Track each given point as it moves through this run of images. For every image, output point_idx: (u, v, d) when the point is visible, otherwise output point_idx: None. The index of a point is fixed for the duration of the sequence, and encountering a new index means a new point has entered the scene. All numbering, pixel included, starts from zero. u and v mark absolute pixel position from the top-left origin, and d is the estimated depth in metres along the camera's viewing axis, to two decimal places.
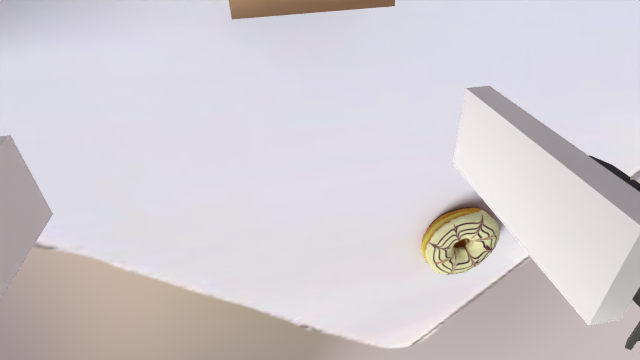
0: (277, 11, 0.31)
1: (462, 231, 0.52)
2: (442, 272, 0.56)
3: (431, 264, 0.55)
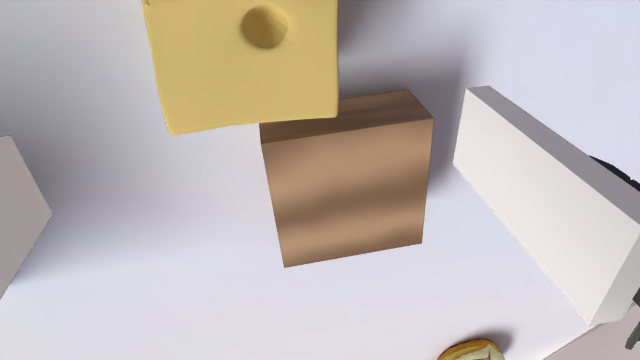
0: (322, 258, 0.36)
1: None
2: None
3: None
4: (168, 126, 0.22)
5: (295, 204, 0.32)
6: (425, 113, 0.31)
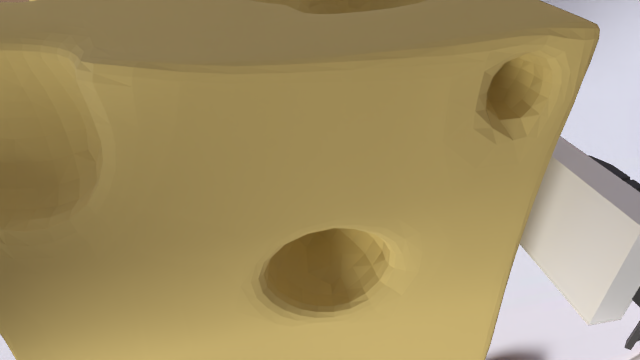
0: None
1: None
2: None
3: None
4: None
5: None
6: None
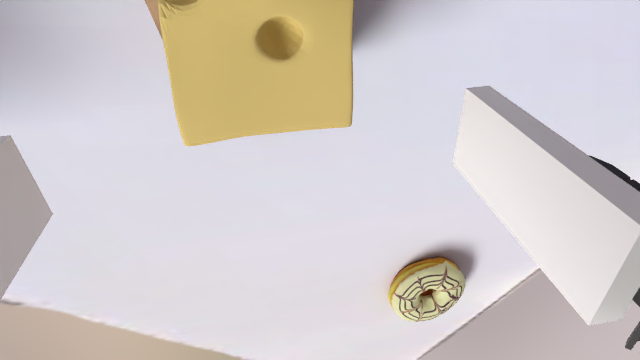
0: None
1: (426, 283, 0.52)
2: (410, 320, 0.57)
3: (398, 313, 0.56)
4: (183, 138, 0.22)
5: None
6: None
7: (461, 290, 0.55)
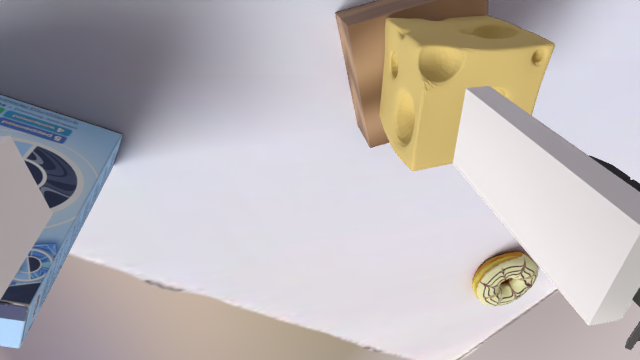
0: None
1: (508, 273, 0.63)
2: (489, 304, 0.67)
3: (481, 298, 0.66)
4: (413, 165, 0.33)
5: (377, 82, 0.39)
6: None
7: (535, 279, 0.65)
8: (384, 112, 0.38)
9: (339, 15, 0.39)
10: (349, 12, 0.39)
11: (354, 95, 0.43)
